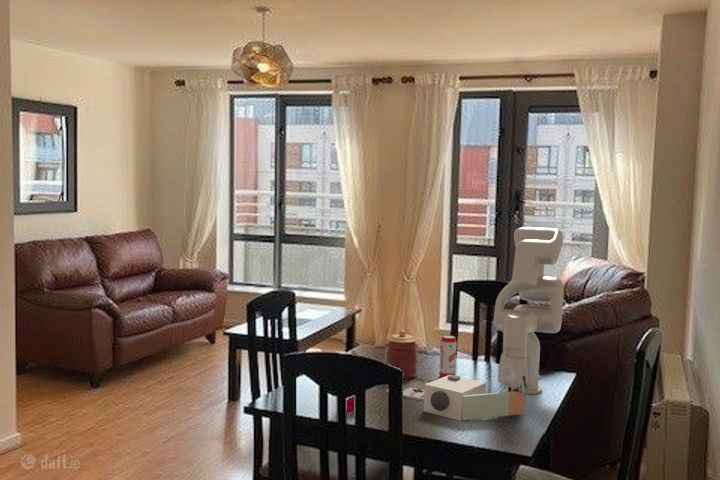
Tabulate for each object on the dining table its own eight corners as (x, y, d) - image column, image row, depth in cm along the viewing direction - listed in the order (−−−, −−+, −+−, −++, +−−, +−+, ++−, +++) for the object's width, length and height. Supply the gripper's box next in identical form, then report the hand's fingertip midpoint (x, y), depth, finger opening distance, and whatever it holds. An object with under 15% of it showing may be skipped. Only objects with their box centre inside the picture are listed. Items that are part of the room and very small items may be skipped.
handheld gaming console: (409, 386, 254) (448, 393, 246) (409, 390, 254) (448, 397, 247) (398, 393, 245) (437, 400, 238) (397, 397, 245) (437, 405, 238)
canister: (412, 380, 265) (414, 335, 264) (380, 376, 269) (381, 331, 268) (420, 372, 277) (422, 328, 276) (389, 369, 282) (391, 325, 280)
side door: (522, 412, 228) (523, 390, 228) (524, 413, 227) (525, 391, 227) (461, 419, 220) (462, 395, 220) (463, 420, 219) (464, 396, 219)
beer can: (457, 376, 273) (459, 336, 272) (451, 380, 268) (452, 339, 267) (443, 374, 276) (445, 334, 275) (436, 377, 271) (437, 336, 270)
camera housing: (448, 400, 242) (449, 372, 241) (484, 409, 233) (486, 379, 233) (420, 412, 228) (422, 382, 227) (458, 422, 219) (459, 390, 219)
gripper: (491, 348, 234) (488, 401, 236) (520, 358, 221) (517, 415, 222) (509, 346, 238) (506, 399, 239) (538, 356, 224) (536, 412, 226)
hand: (511, 406), depth 231 cm, fingers closed
